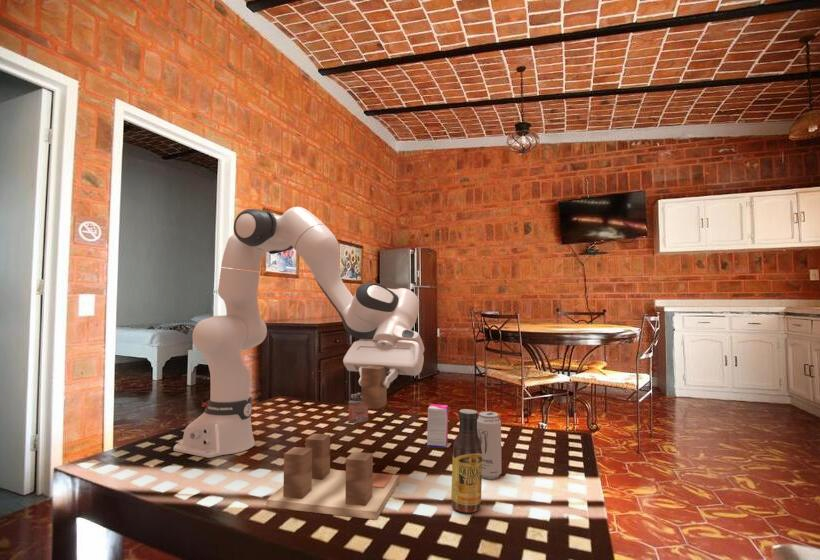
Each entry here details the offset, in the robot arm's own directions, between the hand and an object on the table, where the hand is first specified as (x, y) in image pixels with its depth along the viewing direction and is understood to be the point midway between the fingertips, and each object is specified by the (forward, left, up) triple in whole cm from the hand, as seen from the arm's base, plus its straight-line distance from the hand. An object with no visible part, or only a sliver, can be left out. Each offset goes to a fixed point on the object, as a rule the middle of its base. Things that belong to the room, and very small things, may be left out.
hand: (372, 385), depth 99 cm
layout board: (-7, -4, -23) cm, 25 cm away
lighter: (-22, +53, -24) cm, 62 cm away
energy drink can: (+26, +14, -24) cm, 38 cm away
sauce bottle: (+22, -4, -24) cm, 33 cm away
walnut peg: (0, +1, -5) cm, 5 cm away
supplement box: (+10, +34, -24) cm, 42 cm away
